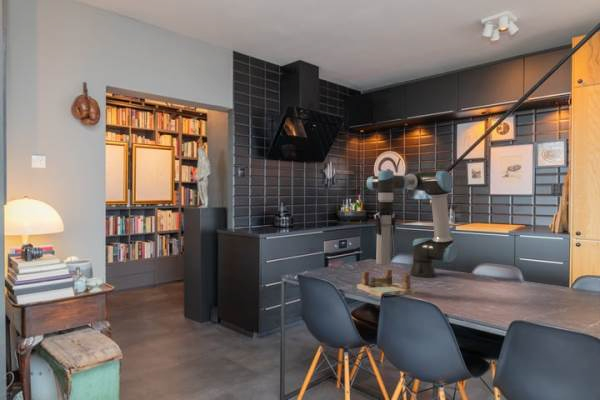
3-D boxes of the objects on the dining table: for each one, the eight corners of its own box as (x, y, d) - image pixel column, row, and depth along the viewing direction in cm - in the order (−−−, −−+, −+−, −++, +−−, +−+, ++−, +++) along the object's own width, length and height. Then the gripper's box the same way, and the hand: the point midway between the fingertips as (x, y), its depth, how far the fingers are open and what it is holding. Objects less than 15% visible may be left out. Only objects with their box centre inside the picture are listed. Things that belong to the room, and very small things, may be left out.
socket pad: (386, 286, 203) (386, 286, 203) (399, 291, 194) (399, 290, 194) (370, 288, 199) (370, 287, 199) (382, 293, 190) (382, 292, 190)
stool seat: (389, 284, 217) (389, 268, 217) (414, 293, 198) (415, 275, 198) (357, 287, 208) (357, 271, 208) (380, 297, 189) (381, 278, 189)
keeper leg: (368, 285, 204) (368, 277, 204) (389, 284, 208) (389, 275, 208) (371, 286, 201) (371, 278, 201) (392, 285, 205) (392, 276, 205)
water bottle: (373, 264, 195) (374, 215, 195) (378, 262, 202) (379, 214, 202) (392, 266, 191) (393, 215, 190) (396, 264, 197) (397, 215, 197)
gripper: (392, 201, 202) (392, 246, 203) (368, 201, 196) (368, 247, 196) (402, 201, 195) (401, 248, 196) (377, 201, 189) (377, 249, 190)
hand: (385, 248), depth 196 cm, fingers open, 2 cm apart
